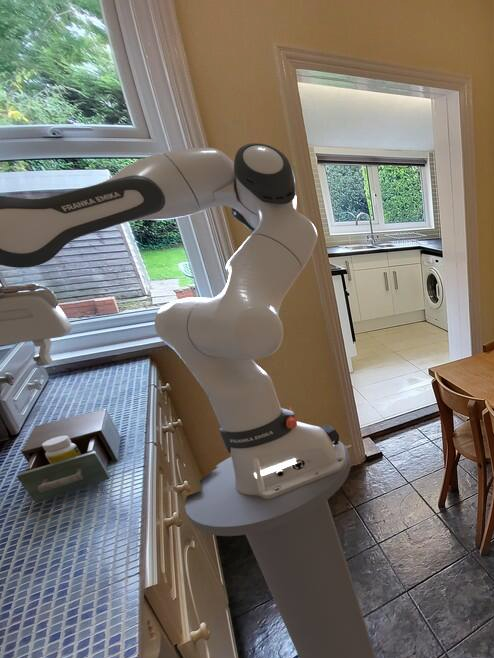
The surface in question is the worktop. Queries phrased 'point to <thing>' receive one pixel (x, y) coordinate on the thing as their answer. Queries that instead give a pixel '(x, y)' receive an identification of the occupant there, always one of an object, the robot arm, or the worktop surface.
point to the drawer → (66, 470)
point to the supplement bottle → (60, 449)
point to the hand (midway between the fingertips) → (9, 370)
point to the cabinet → (77, 432)
